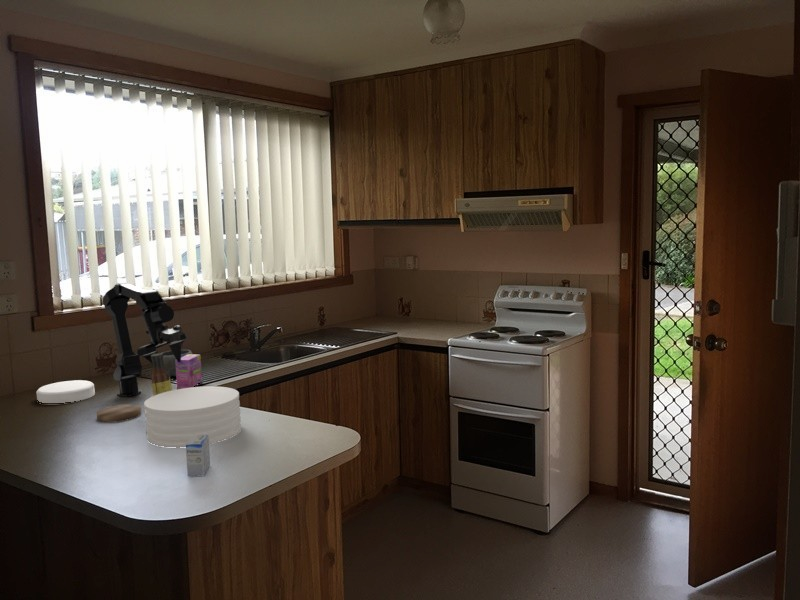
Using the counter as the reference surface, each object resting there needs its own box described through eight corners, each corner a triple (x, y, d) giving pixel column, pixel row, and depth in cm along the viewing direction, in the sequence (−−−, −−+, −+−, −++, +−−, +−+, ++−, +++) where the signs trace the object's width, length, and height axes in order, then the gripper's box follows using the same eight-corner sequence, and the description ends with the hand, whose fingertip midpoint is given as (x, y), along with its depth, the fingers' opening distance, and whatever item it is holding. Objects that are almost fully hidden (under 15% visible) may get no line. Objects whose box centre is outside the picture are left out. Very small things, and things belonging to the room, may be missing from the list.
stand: (87, 419, 235) (87, 413, 235) (120, 408, 248) (120, 403, 248) (117, 423, 229) (117, 417, 229) (149, 412, 242) (149, 406, 242)
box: (190, 389, 272) (188, 359, 271) (176, 389, 273) (174, 359, 272) (202, 382, 282) (200, 354, 281) (189, 382, 283) (187, 354, 282)
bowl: (189, 378, 290) (187, 355, 289) (153, 380, 290) (151, 356, 289) (199, 370, 305) (198, 348, 304) (165, 371, 305) (164, 349, 304)
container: (59, 407, 254) (57, 394, 253) (25, 401, 264) (24, 389, 263) (106, 394, 271) (105, 382, 270) (73, 389, 281) (72, 377, 280)
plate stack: (126, 444, 209) (123, 406, 207) (187, 417, 234) (184, 384, 233) (204, 452, 198) (201, 413, 197) (258, 423, 224) (256, 389, 223)
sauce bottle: (178, 407, 246) (171, 352, 243) (167, 412, 240) (160, 356, 237) (162, 406, 248) (156, 351, 245) (151, 411, 242) (144, 356, 239)
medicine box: (193, 466, 187) (191, 435, 186) (210, 465, 188) (208, 434, 187) (187, 477, 179) (184, 444, 178) (205, 476, 180) (202, 443, 179)
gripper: (149, 328, 237) (165, 371, 239) (189, 313, 253) (203, 354, 255) (128, 334, 243) (144, 376, 245) (168, 319, 259) (183, 359, 261)
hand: (170, 366), depth 251 cm, fingers open, 9 cm apart
